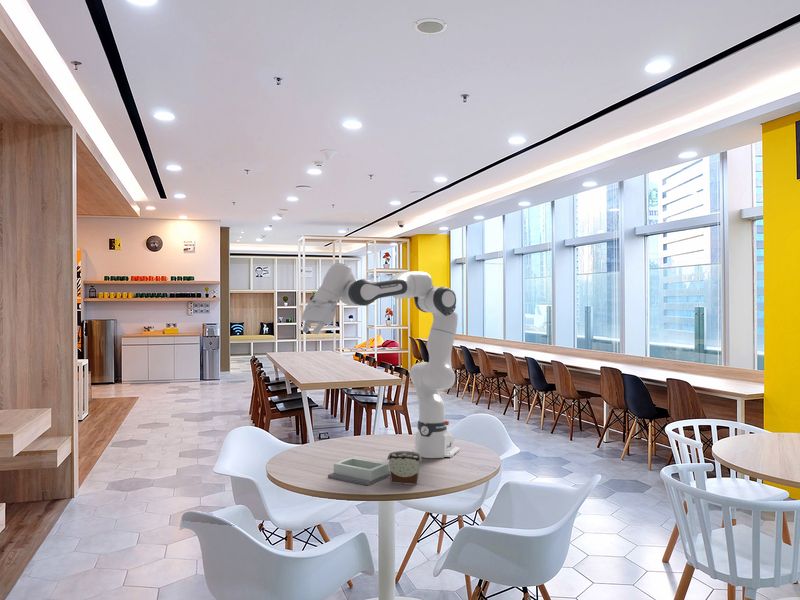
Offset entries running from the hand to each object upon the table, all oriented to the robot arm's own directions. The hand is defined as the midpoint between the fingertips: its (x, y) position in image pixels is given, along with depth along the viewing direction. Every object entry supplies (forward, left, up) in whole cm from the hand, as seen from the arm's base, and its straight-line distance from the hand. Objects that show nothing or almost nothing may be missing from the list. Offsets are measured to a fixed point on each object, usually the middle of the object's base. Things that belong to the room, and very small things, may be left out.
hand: (309, 332), depth 205 cm
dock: (-8, +19, -52) cm, 56 cm away
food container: (-12, +36, -53) cm, 65 cm away
